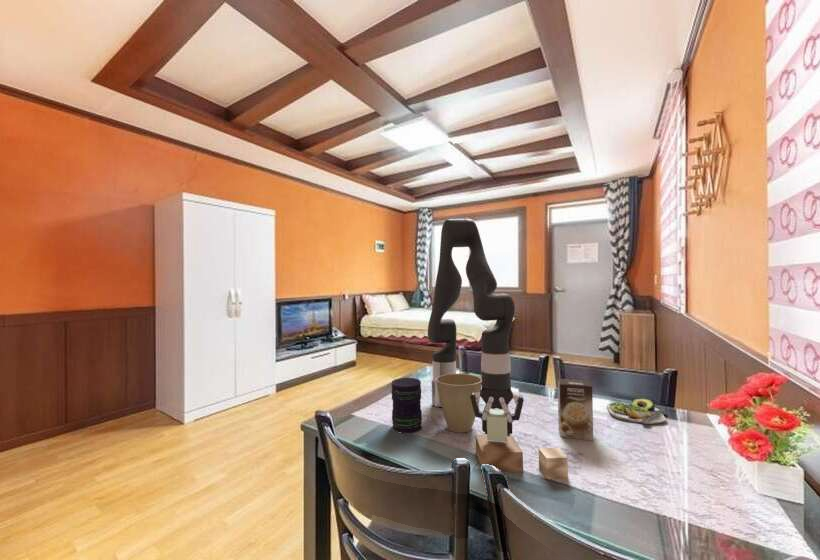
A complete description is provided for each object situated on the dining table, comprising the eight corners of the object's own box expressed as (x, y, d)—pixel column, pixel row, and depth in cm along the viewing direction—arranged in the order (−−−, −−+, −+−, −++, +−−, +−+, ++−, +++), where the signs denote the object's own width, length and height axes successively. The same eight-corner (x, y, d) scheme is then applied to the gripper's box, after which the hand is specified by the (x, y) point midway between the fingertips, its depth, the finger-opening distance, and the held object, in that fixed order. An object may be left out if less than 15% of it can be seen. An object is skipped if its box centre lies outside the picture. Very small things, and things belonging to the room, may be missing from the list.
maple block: (547, 479, 80) (546, 458, 80) (539, 468, 85) (538, 448, 85) (568, 478, 80) (567, 457, 80) (558, 467, 85) (558, 447, 85)
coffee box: (560, 437, 102) (558, 383, 102) (558, 428, 108) (556, 378, 108) (594, 441, 99) (592, 386, 99) (590, 432, 105) (588, 380, 105)
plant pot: (492, 427, 110) (491, 378, 110) (464, 442, 100) (463, 388, 100) (455, 415, 121) (454, 370, 121) (427, 428, 110) (426, 379, 111)
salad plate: (676, 432, 104) (676, 417, 104) (609, 423, 112) (609, 409, 112) (663, 411, 121) (662, 398, 122) (606, 405, 130) (605, 392, 130)
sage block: (487, 439, 87) (486, 416, 87) (487, 431, 92) (487, 409, 92) (507, 441, 86) (506, 417, 86) (506, 433, 91) (506, 410, 91)
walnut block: (482, 472, 84) (482, 452, 84) (475, 453, 94) (475, 434, 94) (523, 472, 84) (522, 452, 84) (512, 452, 94) (511, 434, 94)
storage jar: (426, 424, 114) (425, 379, 114) (414, 435, 105) (413, 387, 105) (400, 419, 118) (399, 376, 118) (386, 430, 109) (385, 384, 109)
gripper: (467, 371, 88) (468, 437, 87) (525, 374, 84) (527, 443, 84) (469, 365, 95) (470, 426, 94) (523, 367, 91) (524, 430, 91)
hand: (497, 433), depth 89 cm, fingers closed on sage block, 5 cm apart
